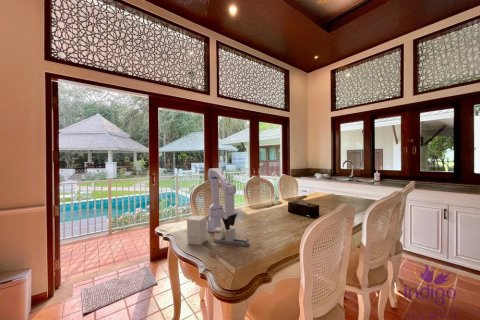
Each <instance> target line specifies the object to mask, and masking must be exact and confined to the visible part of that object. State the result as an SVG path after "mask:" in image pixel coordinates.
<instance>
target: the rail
mask: <svg viewBox="0 0 480 320" xmlns="http://www.w3.org/2000/svg"><path fill="white" fill-rule="evenodd" d="M249 241H250V239H249V238H246V239H238V238H236V239H235V240H234V241H225V237H223V238H222V239H221V240H217V239H214V238H213V243H216V244H224V245H225V244H226V245H231V246H232V245H233V246H238V247H239V246H240V247H246V248H247V247H248V246H249V244H250V242H249Z"/></svg>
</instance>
